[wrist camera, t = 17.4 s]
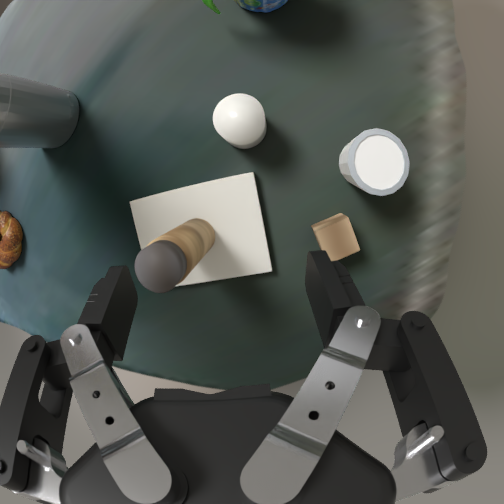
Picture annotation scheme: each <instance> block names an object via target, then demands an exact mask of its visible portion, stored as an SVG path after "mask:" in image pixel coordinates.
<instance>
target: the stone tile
mask: <svg viewBox="0 0 504 504" xmlns="http://www.w3.org/2000/svg"><path fill="white" fill-rule="evenodd" d="M130 206H131V210H132V214H133V219H134V223H135V227H136V231H137V235H138V239H139V243H140V246H141V250H142V249H144V248H145V247H146V246H147V245H148V244H149V243H150V242H151V241H152V240H154V239H156V238H158V237H159V236H161V235H163V234H165V233H167V232H168V231H170V230H172V229H174V228H176V227H177V226H179V225H181V224H183V223H185V222H187V221H188V220H191V219H194V218H200V219H203V220H205V221H207V222H208V223H209V224H210V225H211V226H212V227H213V229H214V232H215V242H214V244H213V246H212V248H211V249H210V250H209V251H208V252H207V253H206V255H205V256H204V257H203V258H202V259H201V260H200V262H199V263H198V264H197V265H196V266H195V267H194V269H193V270H192V271H191V272H190V273H189V274H188V276H187V277H186V278H185V279H184V280H183V281H182V282H181V283H179V284H178V285H176V286H181V285H188V284H195V283H201V282H208V281H214V280H221V279H227V278H234V277H240V276H246V275H252V274H259V273H265V272H271V271H272V264H271V259H270V254H269V248H268V243H267V238H266V232H265V227H264V222H263V217H262V212H261V207H260V201H259V196H258V191H257V186H256V181H255V176H254V172H251V173H246V174H241V175H236V176H231V177H227V178H222V179H217V180H213V181H208V182H204V183H200V184H195V185H191V186H187V187H183V188H179V189H175V190H171V191H167V192H163V193H159V194H155V195H152V196H148V197H144V198H141V199H137V200H133V201H130Z"/></svg>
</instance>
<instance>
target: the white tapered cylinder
mask: <svg viewBox="0 0 504 504" xmlns="http://www.w3.org/2000/svg"><path fill="white" fill-rule="evenodd" d="M409 163H410V162H409V158H408V154H407V150H406V148H405V147H404V145H403V144H402V142H401V141H400V139H399V138H398V137H396V136H395V135H393V134H392V133H391V132H389V131H386V130H382V129H378V128H375V129H370V130H365V131H364V132H362V133H361V134H360V135H358V136H357V137H356V138H354V139H353V140H352V141H351V142H350V143H349V144H348V145H347V146H345V147H344V148H343V150H342V152H341V154H340V157H339V167H340V171H341V174H342V175H343V176H344V178H345V179H346V180H347V181H348V182H350V183H351V184H353V185H355V186H356V187H358V188H360V189H362V190H364V191H366V192H367V193H369V194H373V195H379V196H384V195H388V194H392V193H394V192H396V191H397V190H398V189H399V188H400V187H402V186H403V184H404V182H405V180H406V178H407V176H408V172H409Z"/></svg>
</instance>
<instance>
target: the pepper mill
mask: <svg viewBox="0 0 504 504" xmlns="http://www.w3.org/2000/svg"><path fill="white" fill-rule="evenodd" d="M214 242H215V232H214V229H213V227H212V226H211V225H210V224H209V223H208V222H207V221H205V220H203V219H200V218H194V219H191V220H188V221H187V222H185V223H183V224H181V225H179V226H177V227H176V228H174V229H172V230H170V231H168V232H167V233H165V234H163V235H161V236H159V237H158V238H156V239H154V240H152V241H151V242H150V243H149V244H148V245H147V246H146V247H145V248H144V249H142V250H141V251H140V252H139V253H138V255H137V257H136V260H135V272H136V275H137V278H138V280H139V281H140V282H141V284H142V285H143V286H144V287H145V288H147V289H148V290H150V291H153V292H156V293H165V292H168V291H170V290H172V289H173V288H174V287H175V286H176V285H178V284H179V283H181V282H182V281H183V280H184V279H185V278H186V277H187V276H188V274H189V273H190V272H191V271H192V270H193V269H194V267H195V266H196V265H197V264H198V263H199V262H200V260H201V259H202V258H203V257H204V256H205V255H206V253H207V252H208V251H209V250H210V249H211V248H212V246H213V244H214Z"/></svg>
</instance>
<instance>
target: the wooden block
mask: <svg viewBox="0 0 504 504" xmlns="http://www.w3.org/2000/svg"><path fill="white" fill-rule="evenodd" d="M311 227H312V229H313V232H314V234H315V236H316V239H317V241H318V244H319V246H320V249H321V250H325V251H326V252H327V254H328V256H329V258H330V260H331V261H336V260H339V259H342V258H344V257H346V256H348V255H351V254H353V253H355V252H358V251H360V248H359V245H358V242H357V239H356V237H355V234H354V231H353V229H352V226H351V223H350V221H349V218H348V217H347V216H345V215H343V214H342V213H339V214H337V215H335V216H332V217H330V218H328V219H325V220H323V221H321V222H318V223H316V224H314V225H311Z"/></svg>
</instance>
